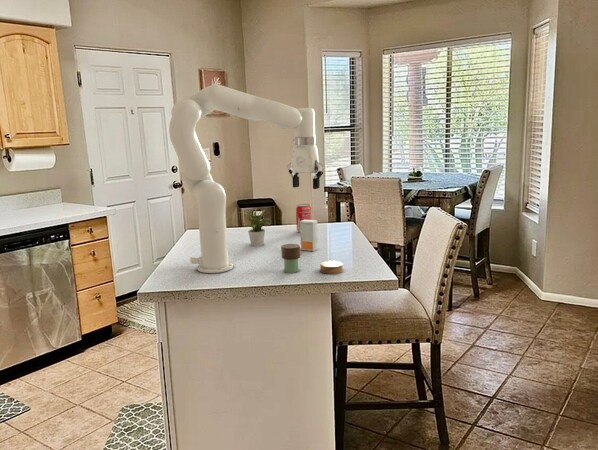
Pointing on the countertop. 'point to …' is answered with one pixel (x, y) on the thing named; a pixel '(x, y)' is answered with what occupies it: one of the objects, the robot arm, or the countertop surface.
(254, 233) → the house plant
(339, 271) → the oak chip
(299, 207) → the soda can
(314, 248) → the cosmetic box
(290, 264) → the plastic cup
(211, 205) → the robot arm
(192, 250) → the countertop surface
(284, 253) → the brown round canister
